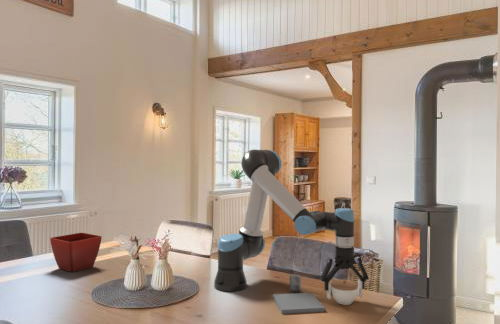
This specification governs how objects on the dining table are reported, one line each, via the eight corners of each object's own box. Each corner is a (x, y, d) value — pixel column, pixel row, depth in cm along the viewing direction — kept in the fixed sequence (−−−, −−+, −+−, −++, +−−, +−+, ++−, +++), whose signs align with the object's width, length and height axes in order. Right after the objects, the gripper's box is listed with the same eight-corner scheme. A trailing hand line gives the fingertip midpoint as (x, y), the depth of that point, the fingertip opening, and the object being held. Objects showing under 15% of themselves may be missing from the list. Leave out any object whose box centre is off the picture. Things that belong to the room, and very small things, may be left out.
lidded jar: (353, 309, 152) (353, 285, 152) (327, 303, 157) (327, 280, 157) (360, 300, 161) (361, 278, 161) (336, 295, 167) (336, 274, 166)
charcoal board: (281, 313, 147) (281, 309, 147) (272, 297, 164) (272, 294, 164) (324, 311, 149) (324, 307, 149) (311, 296, 166) (311, 292, 166)
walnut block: (330, 294, 169) (330, 282, 169) (324, 290, 173) (324, 279, 173) (342, 292, 171) (342, 281, 171) (335, 289, 175) (335, 278, 175)
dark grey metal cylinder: (291, 293, 169) (291, 277, 169) (288, 290, 174) (288, 274, 174) (302, 293, 169) (302, 277, 169) (299, 289, 174) (299, 274, 174)
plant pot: (102, 266, 211) (102, 235, 211) (70, 275, 195) (70, 242, 194) (81, 261, 221) (81, 232, 221) (49, 269, 205) (49, 237, 205)
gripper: (318, 249, 154) (318, 301, 154) (377, 247, 157) (377, 298, 157) (312, 244, 161) (312, 295, 161) (369, 243, 164) (368, 292, 165)
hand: (344, 297), depth 159 cm, fingers open, 13 cm apart
